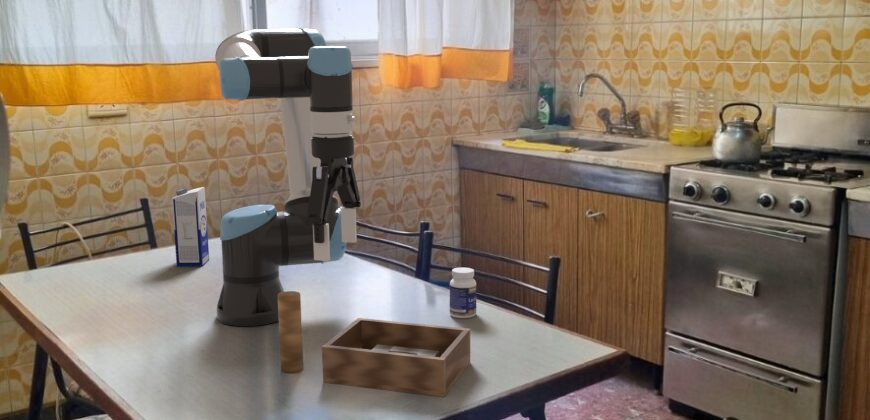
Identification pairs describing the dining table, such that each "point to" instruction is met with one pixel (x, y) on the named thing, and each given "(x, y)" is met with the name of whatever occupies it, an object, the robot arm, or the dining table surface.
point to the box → (397, 356)
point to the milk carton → (190, 227)
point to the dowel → (290, 331)
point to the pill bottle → (463, 293)
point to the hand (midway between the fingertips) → (336, 250)
